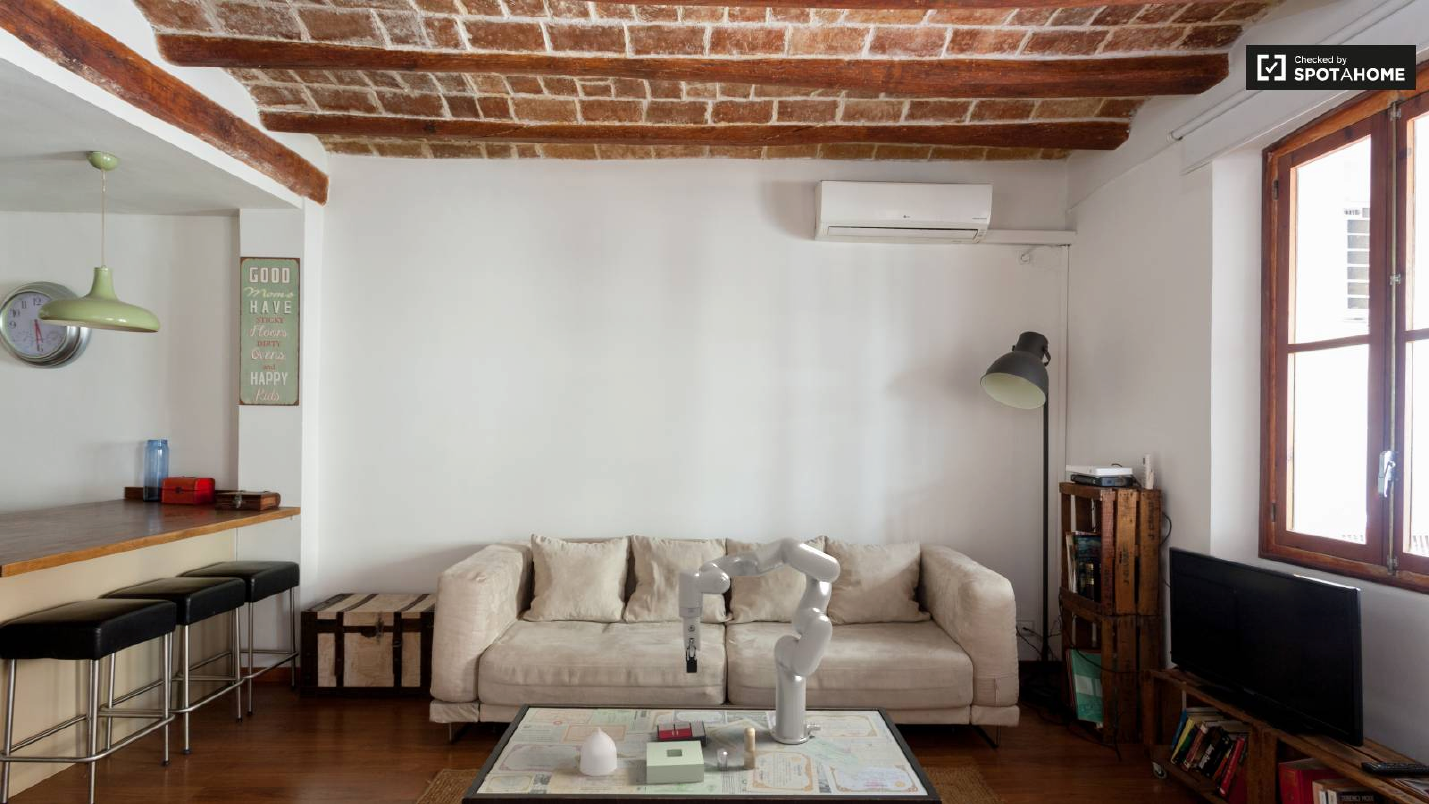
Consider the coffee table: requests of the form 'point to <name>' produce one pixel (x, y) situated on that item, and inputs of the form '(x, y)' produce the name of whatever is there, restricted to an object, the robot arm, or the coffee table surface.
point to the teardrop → (598, 754)
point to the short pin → (722, 759)
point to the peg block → (674, 762)
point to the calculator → (682, 732)
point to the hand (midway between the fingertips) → (691, 666)
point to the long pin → (749, 749)
